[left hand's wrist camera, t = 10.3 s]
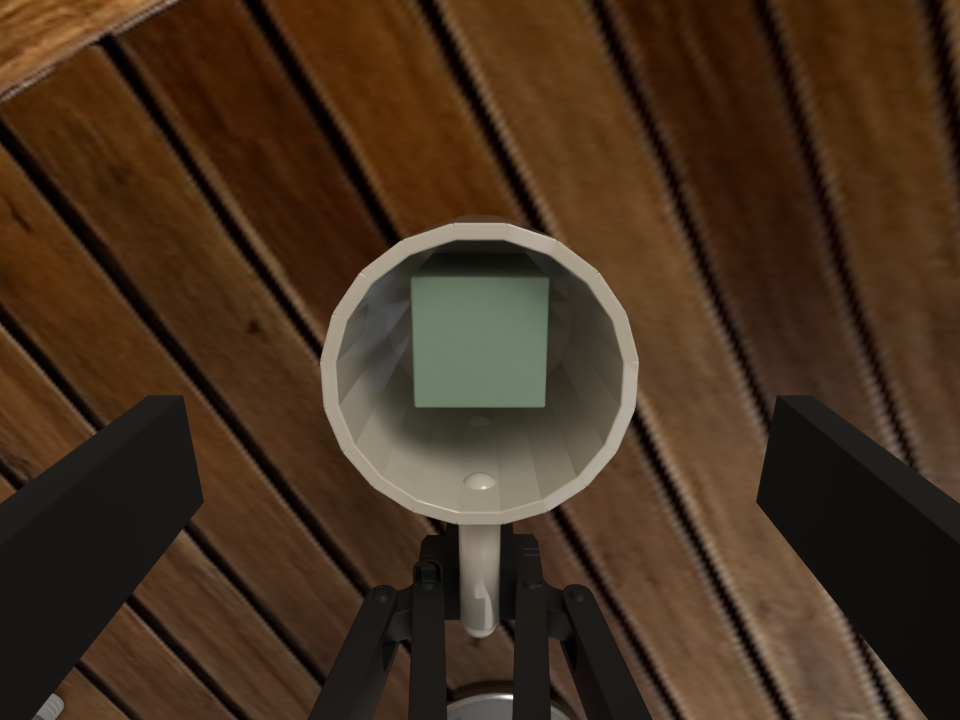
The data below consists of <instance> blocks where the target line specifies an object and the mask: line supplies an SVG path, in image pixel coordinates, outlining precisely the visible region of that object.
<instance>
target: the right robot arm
mask: <svg viewBox="0 0 960 720" xmlns="http://www.w3.org/2000/svg"><path fill="white" fill-rule="evenodd" d="M444 620H460V588H459V525H458V524H457V523H456V524H452V523H449V522H447V528H446V535H427V536H426V537H425V538H424V540H423V541H422V543H421V551H420V557H419V562H417V563H416V564H415V565H414V567H413V584H412V585H411V586H409V587H408V588H406V589H403V590H399V591H396V590H395V589H394V588H393V587H391V586H388V585H380V586H376V587H374V588H373V589H371V590H370V591H369V592H368V594H367V595H366V597H365V600H364V602H363V604H362V606H361V608H360V610H359V612H358V614H357V616H356V619H355V621H354V623H353V625H352V627H351V629H350V631H349V633H348V635H347V638H346V640H345V642H344V644H343V646H342V648H341V650H340V652H339V654H338V657H337V659H336V661H335V663H334V665H333V667H332V669H331V671H330V673H329V676H328V678H327V680H326V682H325V684H324V686H323V688H322V690H321V692H320V695H319V697H318V699H317V701H316V703H315V705H314V707H313V709H312V711H311V714H310V716H309V718H308V720H372V719H373V716H374V713H375V710H376V708H377V705H378V702H379V699H380V697H381V694H382V691H383V688H384V685H385V683H386V680H387V677H388V674H389V671H390V669H391V666H392V663H393V660H394V658H395V655H396V652H397V649H398V646H399V642H400V641H401V640H404V639H408V638H411V637H412V638H411V663H410V689H409V714H408V720H578V718H577V716H576V715H575V713H574V712H573V711H572V709H571V708H570V707H569V706H568V705H567V704H566V703H565V702H563V701H562V700H561V699H560V698H558V697H557V696H555V695H554V694H552V693H550V675H549V650H548V637H551V638H555V639H558V640H560V645H561V647H562V650H563V653H564V656H565V658H566V661H567V664H568V667H569V669H570V672H571V675H572V678H573V681H574V683H575V686H576V689H577V692H578V694H579V697H580V700H581V703H582V705H583V708H584V711H585V714H586V717H587V719H588V720H652V718H651V716H650V713H649V711H648V709H647V707H646V705H645V703H644V701H643V699H642V697H641V694H640V692H639V690H638V688H637V686H636V684H635V682H634V680H633V678H632V676H631V673H630V671H629V669H628V667H627V665H626V663H625V661H624V659H623V657H622V655H621V652H620V650H619V648H618V646H617V644H616V642H615V640H614V638H613V636H612V634H611V631H610V629H609V627H608V625H607V623H606V621H605V619H604V617H603V615H602V613H601V610H600V608H599V606H598V604H597V602H596V600H595V598H594V596H593V594H592V592H591V591H590V590H589V589H588V588H587V587H585V586H583V585H579V584H572V585H568V586H567V587H565V588H564V590H560V589H556V588H553V587H551V586H550V585H548V584H547V583H546V582H545V580H544V578H543V574H542V567H541V561H540V554H539V547H538V541H537V540H536V538H535V537H534V536H533V535H532V534H513V525H512V522H510V523H507V524H501V525H500V613H499V620H515V642H514V676H513V682H512V681H488V682H480V683H475V684H471V685H467V686H464V687H461V688H459V689H456V690H454V691H452V692H450V693H448V694H447V693H446V659H445V625H444Z"/></svg>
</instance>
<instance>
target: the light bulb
mask: <svg viewBox="0 0 960 720" xmlns="http://www.w3.org/2000/svg"><path fill="white" fill-rule="evenodd" d="M63 708H64V703H63V701H62V700H61V699H60V698H59V697H58V696H57V695H55V694H53V693H52V695H51V696H50V697H49V698H48V700H47V701H46V702H45V703H44V705H43V706H42V707H41V708H40V710H39V711H38V712H37V714H36V715H35V716H34V717H33V719H32V720H55V719H56V718H57V716H58V714H59V713H60V712H61V711H62V710H63Z"/></svg>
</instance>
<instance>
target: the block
mask: <svg viewBox="0 0 960 720" xmlns="http://www.w3.org/2000/svg"><path fill="white" fill-rule="evenodd" d="M410 288H411V319H412V351H413V382H414V405H415V407H417V408H543V407H544V406H545V396H546V366H547V337H548V308H549V277H548V276H547V275H546V274H545V273H544V272H543V271H542V270H541V269H540V268H539V267H538V265H537V264H536V263H535V262H534V261H533V260H532V259H531V258H530V257H529V256H528V255H527V254H526V253H433V254H432V255H431V256H430V257H429V258H428V259H427V260H426V261H425V263H424V264H423V265H422V266H421V267H420V268H419V269H418V270H417V271H416V272H415V274H414V275H413V276H412V277H411V279H410Z"/></svg>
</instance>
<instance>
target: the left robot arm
mask: <svg viewBox="0 0 960 720" xmlns="http://www.w3.org/2000/svg"><path fill="white" fill-rule="evenodd" d="M203 502H204V500H203V495H202V490H201V485H200V480H199V475H198V469H197V464H196V459H195V454H194V449H193V444H192V439H191V434H190V429H189V424H188V419H187V413H186V408H185V403H184V398H183V395H148V396H147V397H146V398H144V399H143V400H141V401H140V402H139V403H137V404H136V405H135V406H133V407H132V408H131V409H129V410H128V411H126V412H125V413H124V414H122V415H121V416H120V417H118V418H117V419H115V420H114V421H113V422H111V423H110V424H109V425H107V426H106V427H105V428H103V429H102V430H100V431H99V432H98V433H96V434H95V435H94V436H92V437H91V438H90V439H88V440H87V441H85V442H84V443H83V444H81V445H80V446H79V447H77V448H76V449H74V450H73V451H72V452H70V453H69V454H68V455H66V456H65V457H64V458H62V459H61V460H59V461H58V462H57V463H55V464H54V465H53V466H51V467H50V468H49V469H47V470H46V471H44V472H43V473H42V474H40V475H39V476H38V477H36V478H35V479H33V480H32V481H31V482H29V483H28V484H27V485H25V486H24V487H23V488H21V489H20V490H18V491H17V492H16V493H14V494H13V495H12V496H10V497H9V498H7V499H6V500H5V501H3V502H2V503H1V504H0V720H32V719H33V717H34V716H35V715H36V714H37V712H38V711H39V710H40V708H41V707H42V706H43V705H44V703H45V702H46V701H47V700H48V698H49V697H50V696H51V695H52V693H53V692H54V691H55V690H56V688H57V687H58V686H59V684H60V683H61V682H62V681H63V679H64V678H65V677H66V676H67V674H68V673H69V672H70V671H71V669H72V668H73V667H74V666H75V664H76V663H77V662H78V660H79V659H80V658H81V657H82V655H83V654H84V653H85V652H86V650H87V649H88V648H89V647H90V645H91V644H92V643H93V641H94V640H95V639H96V638H97V636H98V635H99V634H100V633H101V631H102V630H103V629H104V628H105V626H106V625H107V624H108V623H109V621H110V620H111V619H112V617H113V616H114V615H115V614H116V612H117V611H118V610H119V609H120V607H121V606H122V605H123V604H124V602H125V601H126V600H127V599H128V597H129V596H130V595H131V593H132V592H133V591H134V590H135V588H136V587H137V586H138V585H139V583H140V582H141V581H142V580H143V578H144V577H145V576H146V574H147V573H148V572H149V571H150V569H151V568H152V567H153V566H154V564H155V563H156V562H157V561H158V559H159V558H160V557H161V556H162V554H163V553H164V552H165V550H166V549H167V548H168V547H169V545H170V544H171V543H172V542H173V540H174V539H175V538H176V537H177V535H178V534H179V533H180V532H181V530H182V529H183V528H184V526H185V525H186V524H187V523H188V521H189V520H190V519H191V518H192V516H193V515H194V514H195V513H196V511H197V510H198V509H199V507H200V506H201V505H202V504H203ZM756 502H757V504H758V505H759V506H760V507H761V509H762V510H763V511H764V513H765V514H766V515H767V516H768V518H769V519H770V520H771V521H772V523H773V524H774V525H775V526H776V528H777V529H778V530H779V532H780V533H781V534H782V535H783V537H784V538H785V539H786V540H787V542H788V543H789V544H790V545H791V547H792V548H793V549H794V550H795V552H796V553H797V554H798V556H799V557H800V558H801V559H802V561H803V562H804V563H805V564H806V566H807V567H808V568H809V569H810V571H811V572H812V573H813V574H814V576H815V577H816V578H817V580H818V581H819V582H820V583H821V585H822V586H823V587H824V588H825V590H826V591H827V592H828V593H829V595H830V596H831V597H832V599H833V600H834V601H835V602H836V604H837V605H838V606H839V607H840V609H841V610H842V611H843V612H844V614H845V615H846V616H847V617H848V619H849V620H850V621H851V623H852V624H853V625H854V626H855V628H856V629H857V630H858V631H859V633H860V634H861V635H862V636H863V638H864V639H865V640H866V641H867V643H868V644H869V645H870V647H871V648H872V649H873V650H874V652H875V653H876V654H877V655H878V657H879V658H880V659H881V660H882V662H883V663H884V664H885V666H886V667H887V668H888V669H889V671H890V672H891V673H892V674H893V676H894V677H895V678H896V679H897V681H898V682H899V683H900V684H901V686H902V687H903V688H904V690H905V691H906V692H907V693H908V695H909V696H910V697H911V698H912V700H913V701H914V702H915V703H916V705H917V706H918V707H919V708H920V710H921V711H922V712H923V714H924V715H925V716H926V717H927V719H928V720H960V504H959V503H958V502H957V501H955V500H954V499H953V498H951V497H950V496H948V495H947V494H946V493H944V492H943V491H942V490H940V489H939V488H937V487H936V486H935V485H933V484H932V483H931V482H929V481H928V480H927V479H925V478H924V477H922V476H921V475H920V474H918V473H917V472H916V471H914V470H913V469H911V468H910V467H909V466H907V465H906V464H905V463H903V462H902V461H901V460H899V459H898V458H896V457H895V456H894V455H892V454H891V453H890V452H888V451H887V450H886V449H884V448H883V447H881V446H880V445H879V444H877V443H876V442H875V441H873V440H872V439H870V438H869V437H868V436H866V435H865V434H864V433H862V432H861V431H860V430H858V429H857V428H855V427H854V426H853V425H851V424H850V423H849V422H847V421H846V420H845V419H843V418H842V417H840V416H839V415H838V414H836V413H835V412H834V411H832V410H831V409H829V408H828V407H827V406H825V405H824V404H823V403H821V402H820V401H819V400H817V399H816V398H814V397H813V396H812V395H777V398H776V403H775V408H774V413H773V419H772V424H771V429H770V434H769V439H768V444H767V449H766V454H765V459H764V464H763V469H762V475H761V480H760V485H759V490H758V495H757V500H756Z"/></svg>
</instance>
